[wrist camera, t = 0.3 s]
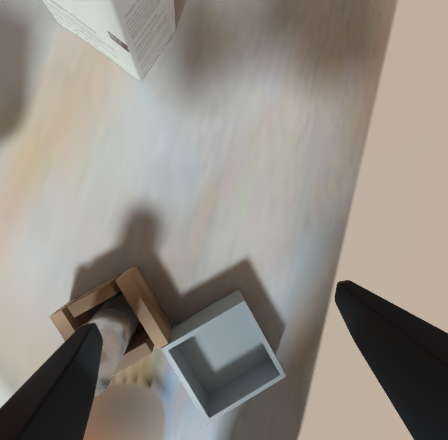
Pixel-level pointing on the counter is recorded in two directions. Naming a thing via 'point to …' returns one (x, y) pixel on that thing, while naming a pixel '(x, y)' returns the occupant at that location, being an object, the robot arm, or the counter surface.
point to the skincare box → (120, 28)
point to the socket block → (141, 304)
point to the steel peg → (113, 336)
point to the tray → (222, 356)
